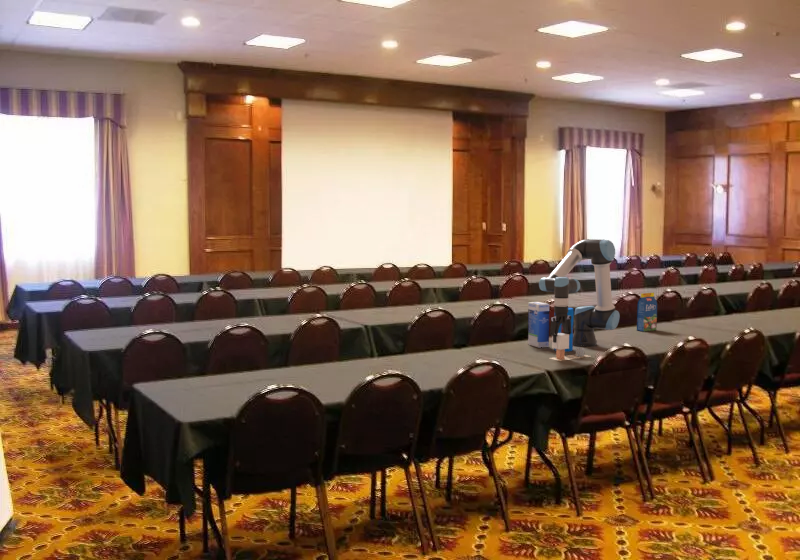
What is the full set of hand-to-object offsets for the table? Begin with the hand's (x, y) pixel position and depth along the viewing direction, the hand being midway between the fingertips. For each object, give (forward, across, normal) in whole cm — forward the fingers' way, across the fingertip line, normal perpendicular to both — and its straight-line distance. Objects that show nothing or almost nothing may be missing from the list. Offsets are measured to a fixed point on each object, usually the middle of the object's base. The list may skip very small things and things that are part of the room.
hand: (560, 347), depth 467 cm
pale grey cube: (+6, -14, +1) cm, 15 cm away
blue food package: (+7, -121, -43) cm, 129 cm away
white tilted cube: (0, 0, 0) cm, 0 cm away
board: (+7, -7, 0) cm, 10 cm away
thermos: (+7, -20, -18) cm, 28 cm away
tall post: (+6, 0, 0) cm, 6 cm away
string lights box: (+7, -21, -40) cm, 46 cm away
